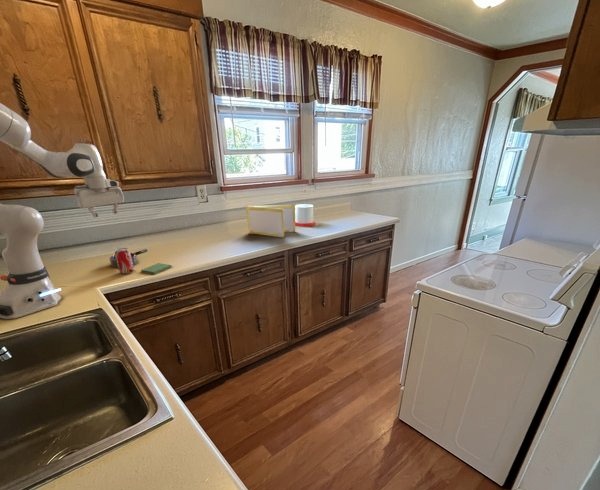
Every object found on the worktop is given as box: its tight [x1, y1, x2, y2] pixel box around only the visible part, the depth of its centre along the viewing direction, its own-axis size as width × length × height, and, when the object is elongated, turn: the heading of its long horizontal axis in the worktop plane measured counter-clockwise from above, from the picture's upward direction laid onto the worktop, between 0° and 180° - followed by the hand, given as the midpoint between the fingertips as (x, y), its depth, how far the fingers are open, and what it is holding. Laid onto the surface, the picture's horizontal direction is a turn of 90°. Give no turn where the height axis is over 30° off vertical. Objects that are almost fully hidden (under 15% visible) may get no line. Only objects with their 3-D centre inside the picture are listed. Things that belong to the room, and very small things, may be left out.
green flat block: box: [140, 262, 172, 275], centre depth 171 cm, size 12×9×1 cm
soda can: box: [114, 247, 135, 275], centre depth 165 cm, size 7×7×12 cm
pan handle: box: [133, 248, 149, 256], centre depth 188 cm, size 11×2×2 cm, turn 156°
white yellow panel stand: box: [245, 204, 296, 238], centre depth 232 cm, size 35×22×20 cm, turn 99°
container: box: [294, 203, 315, 227], centre depth 264 cm, size 16×16×15 cm
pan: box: [108, 252, 139, 269], centre depth 179 cm, size 13×13×4 cm
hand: (105, 215), depth 153 cm, fingers open, 8 cm apart
